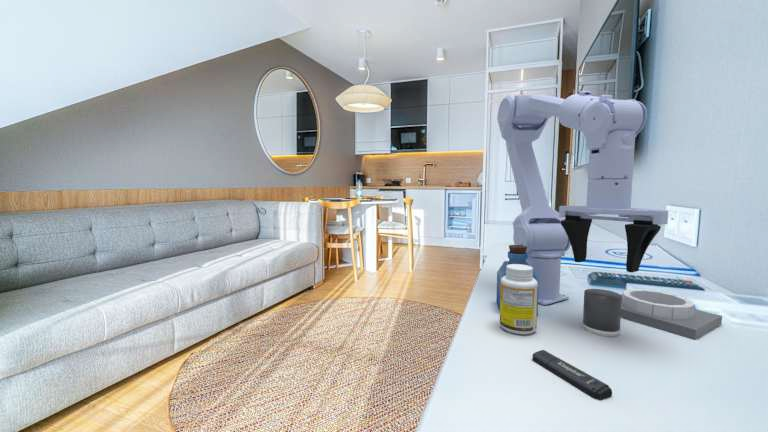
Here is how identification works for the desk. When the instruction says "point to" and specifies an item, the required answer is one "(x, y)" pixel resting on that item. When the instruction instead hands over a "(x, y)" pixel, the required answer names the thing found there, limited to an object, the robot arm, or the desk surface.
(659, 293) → the ring holder base
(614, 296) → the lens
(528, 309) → the supplement bottle
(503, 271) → the perfume bottle
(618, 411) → the desk surface
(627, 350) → the desk surface
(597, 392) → the usb stick
